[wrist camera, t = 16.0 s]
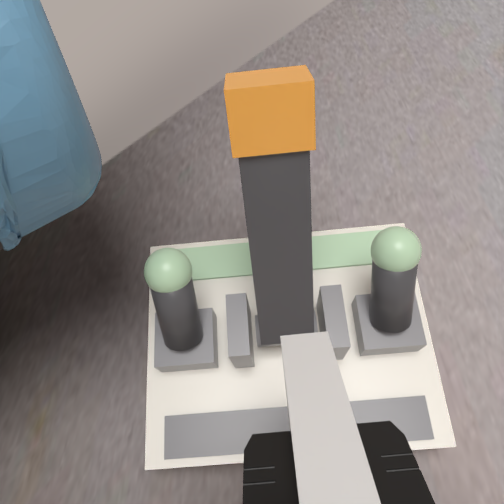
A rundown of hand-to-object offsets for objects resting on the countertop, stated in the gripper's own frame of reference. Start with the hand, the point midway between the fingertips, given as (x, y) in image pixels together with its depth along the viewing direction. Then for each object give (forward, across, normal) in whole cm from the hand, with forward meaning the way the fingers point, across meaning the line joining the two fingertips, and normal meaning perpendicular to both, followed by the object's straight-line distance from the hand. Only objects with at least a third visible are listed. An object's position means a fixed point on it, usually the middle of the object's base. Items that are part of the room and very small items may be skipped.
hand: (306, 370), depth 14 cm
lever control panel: (+11, 0, -6) cm, 12 cm away
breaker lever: (+8, 0, -3) cm, 8 cm away
